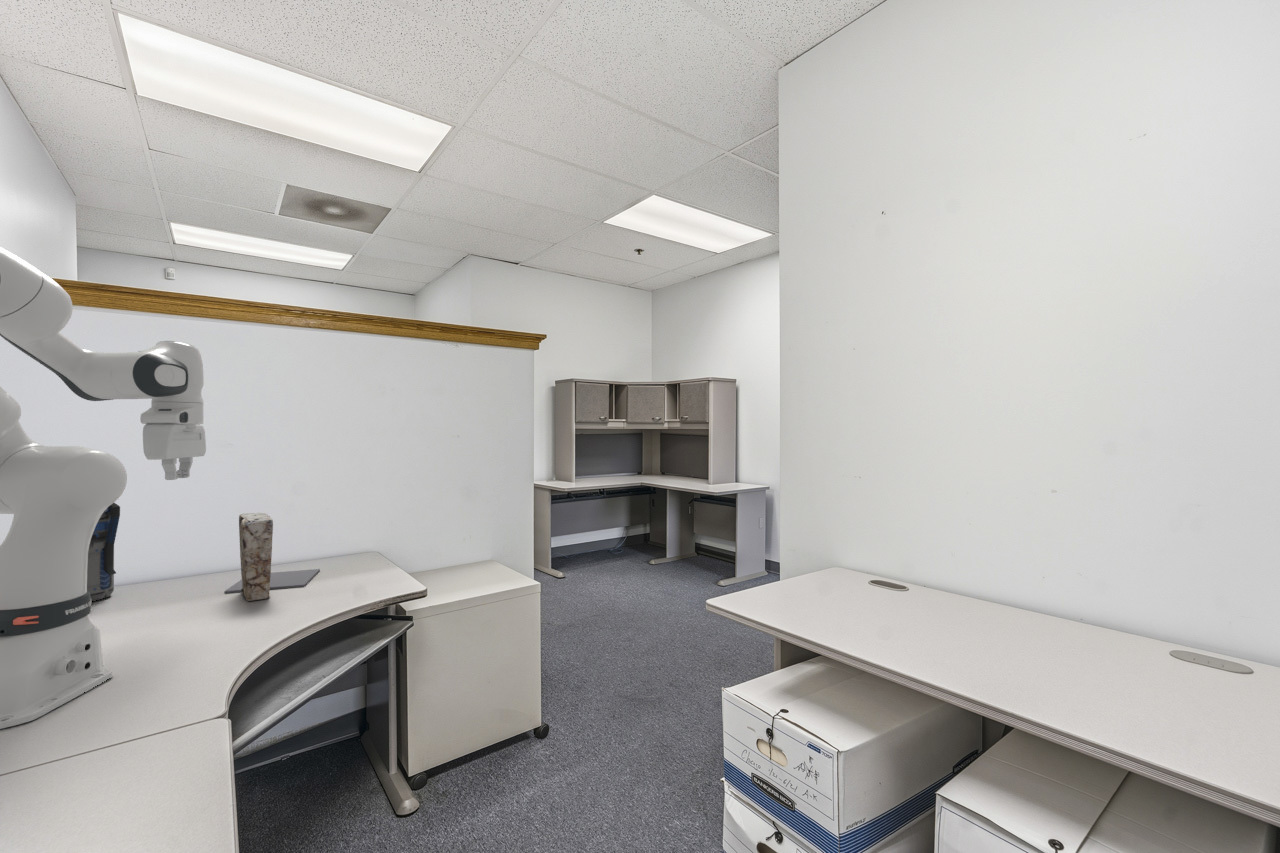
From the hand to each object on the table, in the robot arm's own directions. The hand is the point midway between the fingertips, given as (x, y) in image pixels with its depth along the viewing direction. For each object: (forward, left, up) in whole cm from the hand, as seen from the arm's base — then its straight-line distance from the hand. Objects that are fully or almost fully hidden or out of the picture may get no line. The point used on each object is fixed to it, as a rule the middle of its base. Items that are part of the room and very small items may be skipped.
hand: (177, 478), depth 121 cm
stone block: (+16, -10, -31) cm, 36 cm away
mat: (+30, -11, -31) cm, 44 cm away
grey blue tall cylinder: (+26, +28, -31) cm, 49 cm away
